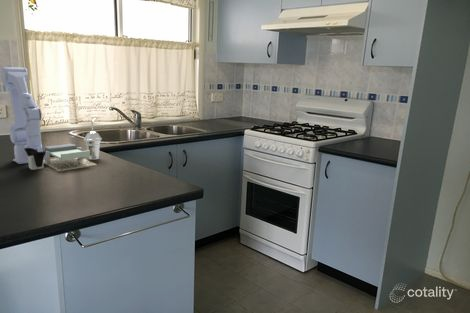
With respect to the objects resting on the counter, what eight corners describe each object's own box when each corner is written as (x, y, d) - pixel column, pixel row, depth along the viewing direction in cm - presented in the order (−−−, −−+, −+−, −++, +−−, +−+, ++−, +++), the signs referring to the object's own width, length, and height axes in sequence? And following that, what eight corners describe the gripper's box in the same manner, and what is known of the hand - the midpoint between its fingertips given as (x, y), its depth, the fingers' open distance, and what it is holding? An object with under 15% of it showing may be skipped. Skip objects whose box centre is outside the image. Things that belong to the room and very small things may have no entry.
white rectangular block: (28, 168, 172) (27, 156, 170) (40, 166, 175) (39, 154, 174) (31, 169, 169) (30, 157, 168) (43, 168, 172) (42, 156, 171)
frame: (40, 161, 183) (39, 149, 181) (76, 156, 195) (76, 145, 194) (58, 171, 168) (57, 158, 166) (96, 165, 180) (96, 152, 179)
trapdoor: (45, 155, 184) (44, 146, 183) (72, 152, 193) (71, 143, 192) (62, 163, 169) (61, 154, 168) (90, 159, 178) (90, 150, 177)
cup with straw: (81, 159, 191) (78, 119, 186) (95, 155, 199) (93, 117, 194) (93, 161, 187) (91, 120, 182) (107, 157, 195) (105, 118, 190)
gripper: (18, 133, 171) (21, 163, 174) (29, 138, 161) (32, 169, 164) (35, 132, 176) (37, 160, 179) (46, 136, 166) (49, 167, 169)
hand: (36, 164), depth 172 cm, fingers open, 7 cm apart
